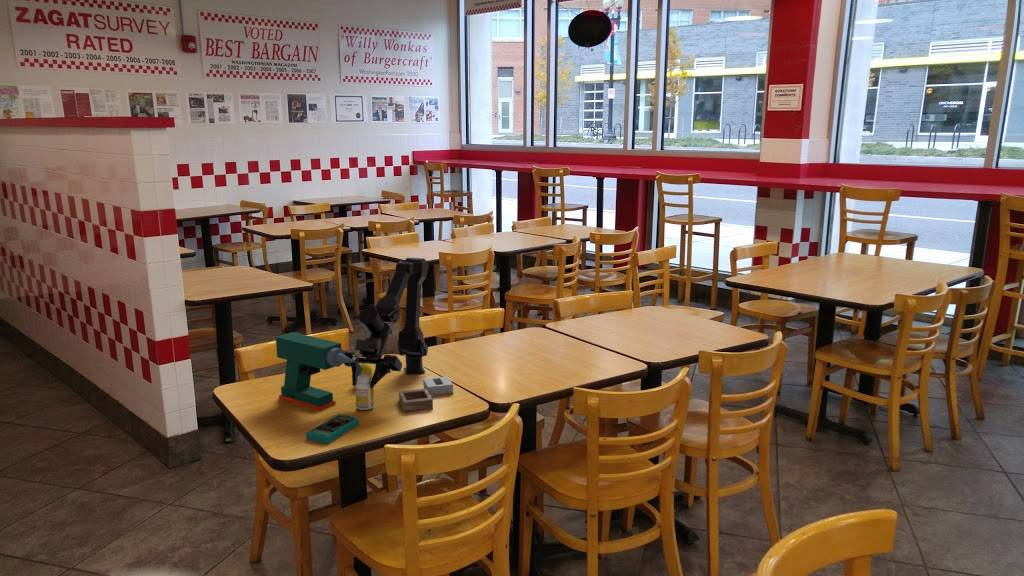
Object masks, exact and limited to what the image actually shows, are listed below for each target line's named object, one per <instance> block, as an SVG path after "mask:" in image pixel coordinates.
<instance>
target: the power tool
mask: <svg viewBox="0 0 1024 576" xmlns="http://www.w3.org/2000/svg"><path fill="white" fill-rule="evenodd" d="M275 346H276V357H277V358H279V359H282V360H286V362H285V363H286V364H285V374H284V382H283V385H281V386H280V392H281V394H278V398H279V399H280V400H283V401H286V402H289V403H293V404H295V405H298V406H302V407H306V408H308V409H312V410H315V411H318V412H319V411H320V412H321V411H323V410H325V409H328V408H330V407H333V406H335V405H337V401H336V400H334V395H333V392H331V391H329V390H324V389H320V388H317V387H313V386H311V378H312V375H315V374H318V373H321V370H324V371H326V370H329V369H332V368H335V367H336V368H337V367H340V366H342V365H344V364H343V363H354V362H355V361H354V360H352V359H350V358H349V357H347V356H345V353H344V351H345V350H343V349H342V343H341V342H336V341H332V340H328V339H324V338H320V337H315V336H312V335H307V334H302V333H299V332H298V333H297V332H294V331H293V332H289V333H286V334H282V335H277V336H275ZM334 404H335V405H334ZM332 405H333V406H332Z"/></svg>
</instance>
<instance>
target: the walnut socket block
mask: <svg viewBox="0 0 1024 576" xmlns="http://www.w3.org/2000/svg"><path fill="white" fill-rule="evenodd" d="M398 400H399V403H400V406H401V408H402V410H403V412H404V413H410V412H419V411H426V410H428V409H429V410H433V409H434V405H433V403H434V400H433V398H432V396H430V394H429V392H428V391H427V389H424V388H416V389H409V390H402V391H401V390H400V391H398Z"/></svg>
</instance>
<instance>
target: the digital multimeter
mask: <svg viewBox="0 0 1024 576" xmlns="http://www.w3.org/2000/svg"><path fill="white" fill-rule="evenodd" d="M359 426H360V420H359V418H357V417H355V416H353V415H349V414H337V415H335V416H334V417H331V418H330V419H328V420H326V421H324V422H323V423H321V424H319V425H317V426H315V427H313V428H311V429H310V430H308V431H307V432H306V433H305V434H306V435H305V436H306V440H308V441H310V440H311V442H315V443H319V444H325V445H326V444H327V445H329V444H330V443H332V442H333V441H335V440H337V439H338V438H340V437H341V436H343V435H344V434H346V433H348V432H350V431H351V430H353V429H355V428H357V427H359ZM349 430H350V431H349ZM339 436H340V437H339Z"/></svg>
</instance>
